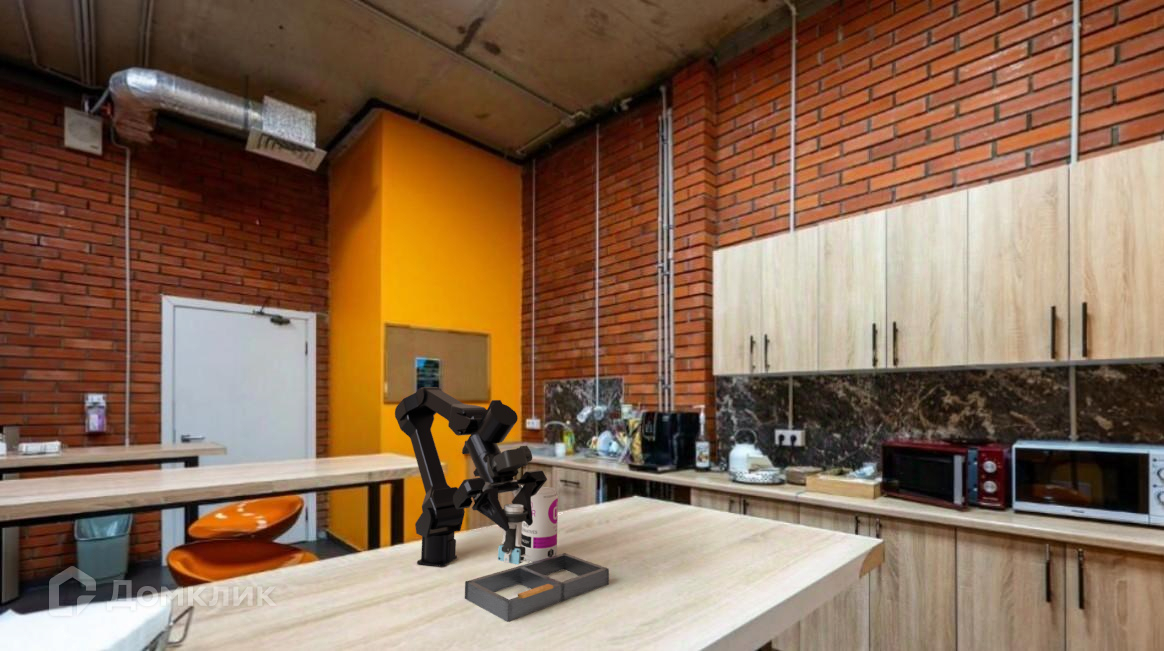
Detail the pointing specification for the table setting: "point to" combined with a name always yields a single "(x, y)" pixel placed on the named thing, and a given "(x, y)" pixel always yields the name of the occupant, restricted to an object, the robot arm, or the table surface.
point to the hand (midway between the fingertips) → (519, 526)
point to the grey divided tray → (535, 585)
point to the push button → (513, 535)
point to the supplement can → (541, 526)
